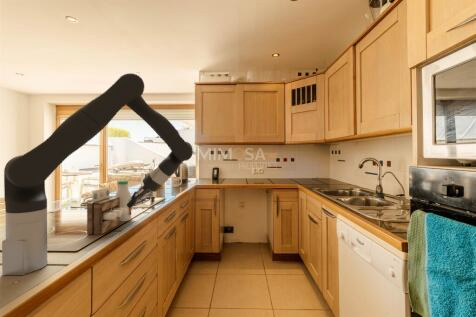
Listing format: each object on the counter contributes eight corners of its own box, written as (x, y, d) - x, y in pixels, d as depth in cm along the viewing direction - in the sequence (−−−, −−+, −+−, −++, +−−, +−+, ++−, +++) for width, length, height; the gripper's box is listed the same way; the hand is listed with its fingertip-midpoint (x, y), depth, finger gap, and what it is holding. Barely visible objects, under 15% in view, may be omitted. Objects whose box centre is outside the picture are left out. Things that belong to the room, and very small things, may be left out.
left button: (112, 220, 102) (112, 213, 102) (101, 220, 103) (101, 213, 102) (116, 218, 105) (116, 211, 105) (105, 218, 106) (105, 211, 105)
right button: (124, 215, 112) (124, 208, 112) (113, 214, 112) (113, 208, 112) (127, 213, 115) (127, 207, 115) (116, 213, 115) (116, 206, 115)
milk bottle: (125, 222, 119) (125, 181, 119) (111, 221, 120) (111, 181, 120) (134, 218, 127) (134, 180, 126) (120, 217, 128) (120, 179, 127)
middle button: (118, 217, 107) (118, 210, 107) (107, 217, 107) (107, 210, 107) (122, 215, 110) (122, 209, 110) (111, 215, 110) (111, 209, 110)
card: (94, 202, 103) (94, 190, 103) (92, 202, 103) (92, 190, 103) (109, 197, 115) (109, 186, 115) (108, 197, 115) (108, 186, 115)
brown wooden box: (100, 234, 101) (100, 203, 101) (87, 234, 102) (87, 203, 101) (119, 224, 116) (119, 197, 116) (107, 223, 117) (107, 196, 116)
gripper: (156, 170, 110) (129, 197, 110) (144, 173, 96) (114, 203, 97) (168, 182, 110) (141, 209, 110) (157, 186, 96) (127, 216, 97)
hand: (128, 206), depth 104 cm, fingers closed
